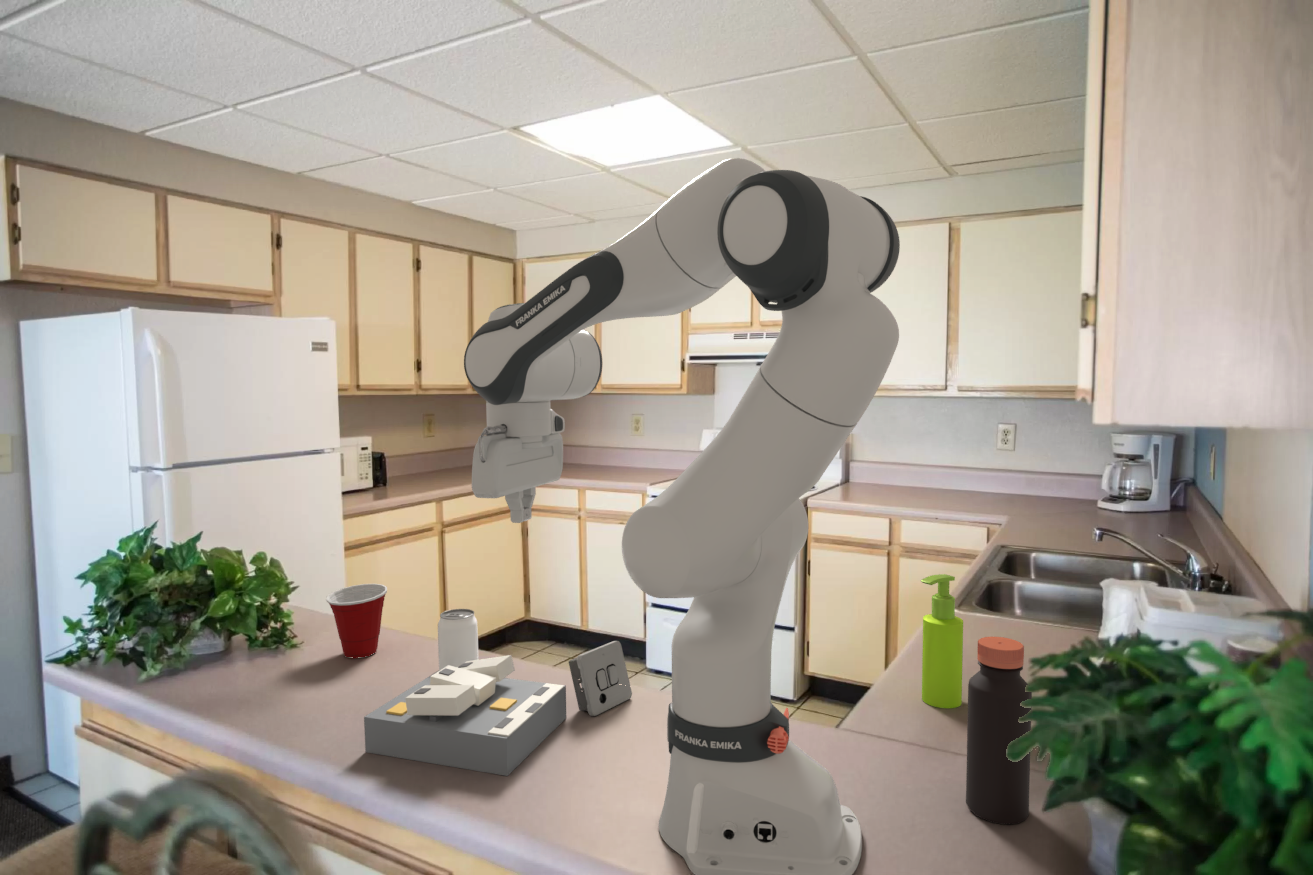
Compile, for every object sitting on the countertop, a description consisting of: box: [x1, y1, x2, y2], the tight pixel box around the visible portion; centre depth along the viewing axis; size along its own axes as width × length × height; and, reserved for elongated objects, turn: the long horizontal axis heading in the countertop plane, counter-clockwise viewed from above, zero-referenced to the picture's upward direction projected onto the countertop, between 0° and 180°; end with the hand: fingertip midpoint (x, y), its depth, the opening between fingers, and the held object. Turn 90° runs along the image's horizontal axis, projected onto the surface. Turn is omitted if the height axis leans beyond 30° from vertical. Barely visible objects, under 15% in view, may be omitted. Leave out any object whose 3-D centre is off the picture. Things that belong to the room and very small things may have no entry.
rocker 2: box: [430, 665, 496, 706], centre depth 112 cm, size 8×4×3 cm, turn 72°
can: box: [437, 608, 479, 671], centre depth 130 cm, size 6×6×12 cm
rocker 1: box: [405, 685, 476, 715], centre depth 106 cm, size 8×4×3 cm, turn 72°
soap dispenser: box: [920, 573, 964, 710], centre depth 121 cm, size 6×7×20 cm
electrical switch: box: [568, 640, 633, 717], centre depth 122 cm, size 9×5×9 cm, turn 141°
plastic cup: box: [325, 583, 388, 659], centre depth 145 cm, size 11×11×12 cm
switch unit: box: [363, 669, 567, 777], centre depth 112 cm, size 22×18×6 cm
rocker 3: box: [458, 654, 516, 682], centre depth 117 cm, size 8×4×2 cm, turn 72°
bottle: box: [965, 636, 1033, 825], centre depth 90 cm, size 7×7×20 cm
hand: (521, 521), depth 109 cm, fingers closed
